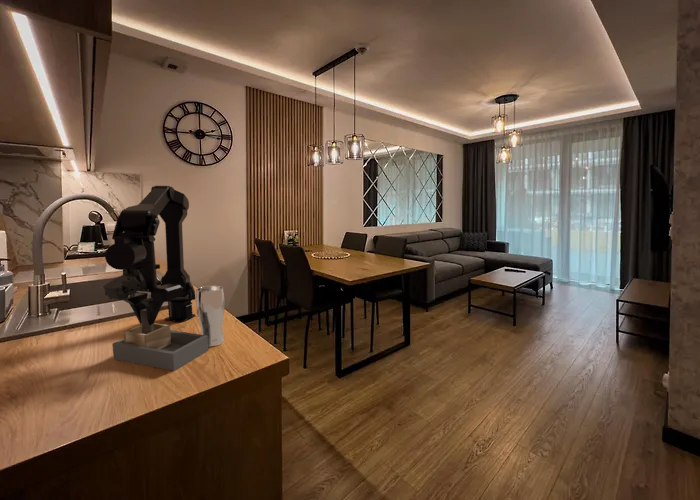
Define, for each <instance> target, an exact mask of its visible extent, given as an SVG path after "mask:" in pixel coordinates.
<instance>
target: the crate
mask: <svg viewBox="0 0 700 500" xmlns="http://www.w3.org/2000/svg"><path fill="white" fill-rule="evenodd" d="M140 314H141V324H140V325H137V326H135V327H133V328H131V329H127V330H124V331H123V339H124V343H126V344H132V345H138V346H144V347H149V348H155V349H162V348H164V347H166V346H168V345H170V344H171V333H170V330H171V324H164V323H156V322H154V324H152V325H149V323H148V318H147V312H146V309H143V310H141V311H140Z"/></svg>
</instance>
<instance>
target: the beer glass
mask: <svg viewBox="0 0 700 500" xmlns="http://www.w3.org/2000/svg"><path fill="white" fill-rule="evenodd" d="M224 292H225V291H224V287H223V286H222V285H217V284H216V285H215V284H213V285H212V284H211V285H204V286H199V287H197V288H196V290H195V298H196V299H195V302H196V303H195V306H196V307H195V308H196V313H197V318H198V321H199V327H200V331H201V332H200V335H207V336H208V348H212V347H217V346H220V345H222V344H223V343H224V342H225V336H224V332H223V331H224V330H223V324H224V323H223V322H224V316H225V307H226V306H225V302H226V301H225V294H224Z"/></svg>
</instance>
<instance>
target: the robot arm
mask: <svg viewBox="0 0 700 500" xmlns="http://www.w3.org/2000/svg"><path fill="white" fill-rule="evenodd" d="M189 208H190V202H189V199H188V197H187V196H186V194H184V193H182V192H181V191H179V190H176V189H174V187H173V186H170V185H153V186H151V189H150V191H149V192H148V194H146V196H145V197H144V198H143V199H142V200H141V201H140V202H139V203H138V204H136V205H131V206H127V207H126V208H124V209H122V210H121V212H120V213H119V215H118V216H117V219H116V222H115V227H114V230H113V234H112V237H111V239H112V240H114V243H112V244H111V245H110V246H108V247H107V249H106V251H105V254H104V258H105V262H106V263H107V264H108V266H109V267H110V268H113V269H115V270H119V271H122V275H120V276H118V277H116V278H114V279H112V280H110V281H109V282H108V283H106V284H104V285H103V286H102V287H103V289H104V293H105V295H104V296H107V297H108V299H110V300H112V299H113V300H115V299H116V300H118V301H124V302H126V303H127V304H129V305H130V307H131V309H132V311H133V313H134V314H135V317H136V318H137V320H138V322H139V324H140V325H141V314H140V311H141V310H143V309H146V312H147V318H148V323H149V325H152V324H154V323H156V319H157V317H158V314H159V312H160V311H161V308H162V307H163V305H164V303H167V307H168V317H165V318H164V321H168V322H169V321H170V322H176V323H177V322H178V323H182V322H184V321H187V320H190V319H192V318H194V317H196V314H195V313H194V314H193V304H192V302H193V300H194V301H196V290H195V288H194V285H193V283H192V282H191V278H190V275H189V274H188V272H187V270H186V269H185V266H184V238H183V237H184V236H183V222H184V221H185V219H186V218H187V216H188V210H189ZM158 216H159V217H160V218H161V220H162V221H163V222H164V226H165V229H164V230H165V246H166V249H165V250H166V269H167V270H166V272H165V273H164V275H162V276H161V278H160V280H158V276H157V270H158V269H159V270H160V269H161V265H160V264H159V263H156V253H155V252H156V251H155V241H156V238H155V236H156V235H157V232H158V229H159V225H160V219H159V217H158Z"/></svg>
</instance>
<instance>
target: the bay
mask: <svg viewBox="0 0 700 500" xmlns="http://www.w3.org/2000/svg"><path fill="white" fill-rule="evenodd" d="M170 333H171V344H170V345H168V346H166V347H164V348H162V349H155V348H149V347H144V346H138V345H132V344H126V343H124V338H122V339H120V340H117V341H115V342H113V343H112V354H113V355H112V356H113V360H114V361H115V360H116V361H120V362H125V363H131V364H135V365H142V366H146V367H151V368H157V369H163V370H167V371H173V372H175V371H177V370H178V369H180V368H182V367H184V366H185V365H187V364H188V363H191V362H192V361H194V360H195V359H196V358H198V357H200V356H201V355H203V354H205V353H207V352H208V351H209V347H208V336H207V335H201V333H200V334H198V333H192V332H186V331H178V330H172V329H170Z"/></svg>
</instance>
